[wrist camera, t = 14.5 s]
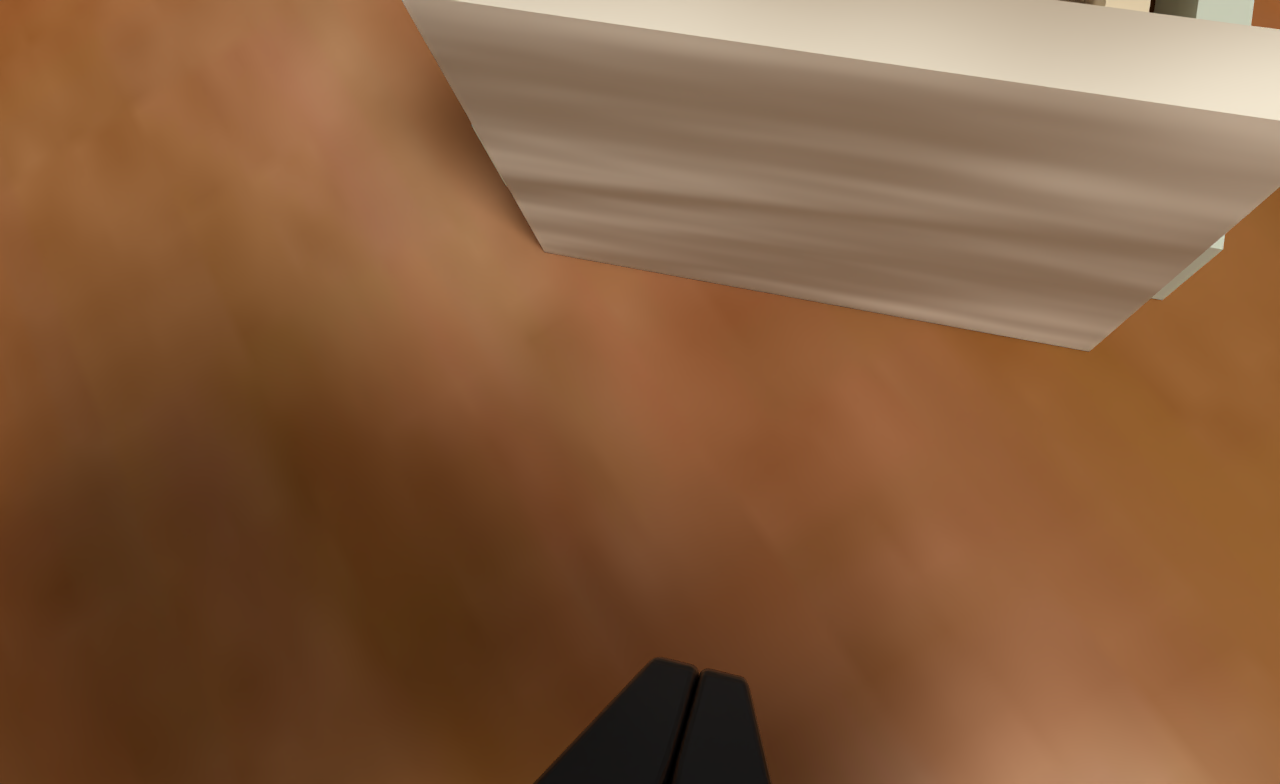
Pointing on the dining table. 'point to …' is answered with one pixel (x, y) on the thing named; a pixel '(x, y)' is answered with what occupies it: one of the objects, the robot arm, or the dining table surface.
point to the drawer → (877, 145)
